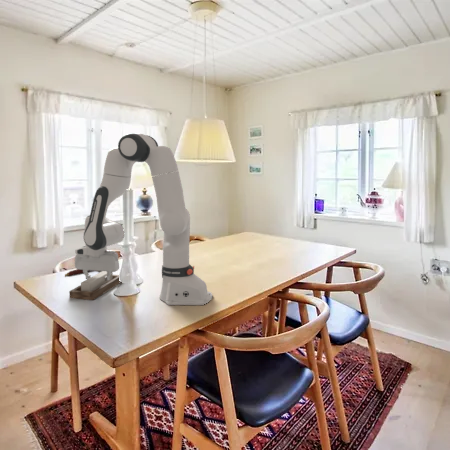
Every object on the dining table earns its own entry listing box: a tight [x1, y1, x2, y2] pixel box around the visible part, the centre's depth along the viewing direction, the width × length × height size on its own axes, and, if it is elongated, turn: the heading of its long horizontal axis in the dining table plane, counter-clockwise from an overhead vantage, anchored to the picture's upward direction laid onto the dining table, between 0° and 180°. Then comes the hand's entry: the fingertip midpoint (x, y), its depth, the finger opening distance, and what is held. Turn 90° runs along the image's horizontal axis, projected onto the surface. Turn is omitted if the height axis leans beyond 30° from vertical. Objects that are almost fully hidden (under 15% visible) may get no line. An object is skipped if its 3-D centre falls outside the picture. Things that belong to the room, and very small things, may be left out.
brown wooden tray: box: [68, 274, 120, 301], centre depth 162 cm, size 11×26×3 cm, turn 169°
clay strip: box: [80, 271, 114, 292], centre depth 162 cm, size 4×20×5 cm, turn 169°
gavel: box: [64, 269, 92, 277], centre depth 188 cm, size 21×5×10 cm
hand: (97, 279), depth 162 cm, fingers open, 8 cm apart
